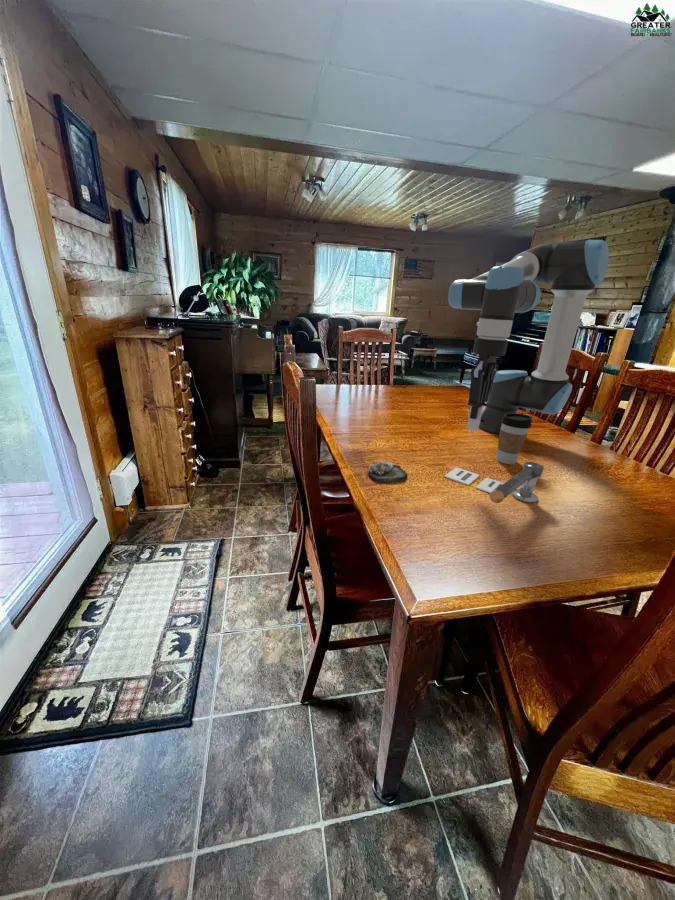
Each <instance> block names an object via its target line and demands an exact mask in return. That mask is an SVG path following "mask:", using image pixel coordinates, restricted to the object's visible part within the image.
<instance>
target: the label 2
mask: <svg viewBox="0 0 675 900" xmlns="http://www.w3.org/2000/svg"><path fill="white" fill-rule="evenodd" d="M504 483H505V482H501V481H498V480H495V479H492V478H489V477H488V476H487V477H485V478H484V479H483V480H482V481H481V482H479V484H478V485H476V487H475V489H476V490H479V491H482V492H484V493H488V494H490V493H491V492H492V491H493V490H496V489H497V488H499V487H500V486H501V485H503V484H504Z"/></svg>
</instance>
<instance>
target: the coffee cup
mask: <svg viewBox="0 0 675 900" xmlns="http://www.w3.org/2000/svg"><path fill="white" fill-rule="evenodd" d="M532 421H533V417H532V416H531V415H529V414H525V413H524V414H523V413H517V414H514V413H508V414H504V416H503V418H502V419H501V422H502V426H501V428H500V434H498V435H499V437H498V443H497V451H496V457H495V458H496V460H497V461H498V462H500V463H502V464H505V465H515V464H516V463H517V461H518V458H519V456H520V453H521V451H522V448H523V446H524V443H525V441H526V438H527V436H528V431H529V429H530V428H531V427H532Z"/></svg>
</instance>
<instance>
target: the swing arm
mask: <svg viewBox="0 0 675 900" xmlns="http://www.w3.org/2000/svg"><path fill="white" fill-rule="evenodd" d="M544 469H545V467H544V466H543V465H541V464H540V463H537V462H534V461H525V462H524V463H523V467H522V470H521V471H519V472H517V473H516V474H515V475H514V476H512V477H511V478H509V480H507V481H505V482H503V483H504V484H503V485H501V486H500V487H499V488H497V489H496V490H493V491H492V492H491V493H489V499H490V501H491V502H493V503H495V504H499V503H502V502H503V501H504V499H505V498H507V497H508V496H509V495H512V492H513V491H514V490H516V489H519V488H521V485H522V484H523V483H525V482H526V481H527V480H528V479H530V478H531V477H532V476H533V477H538V478H539V477H542V475H543V472H544Z"/></svg>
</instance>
